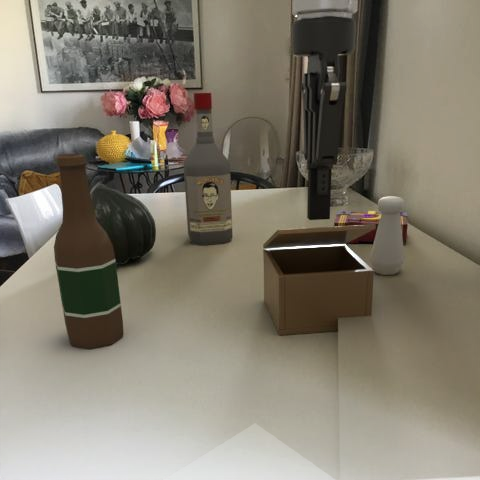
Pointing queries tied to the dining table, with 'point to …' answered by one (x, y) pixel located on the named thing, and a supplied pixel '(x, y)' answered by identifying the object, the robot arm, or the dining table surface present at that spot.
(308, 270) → the open cardboard box
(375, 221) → the decorative book
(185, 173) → the liquor
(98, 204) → the squash
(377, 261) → the salt shaker
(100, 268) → the beer bottle
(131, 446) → the dining table surface
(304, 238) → the cardboard lid
